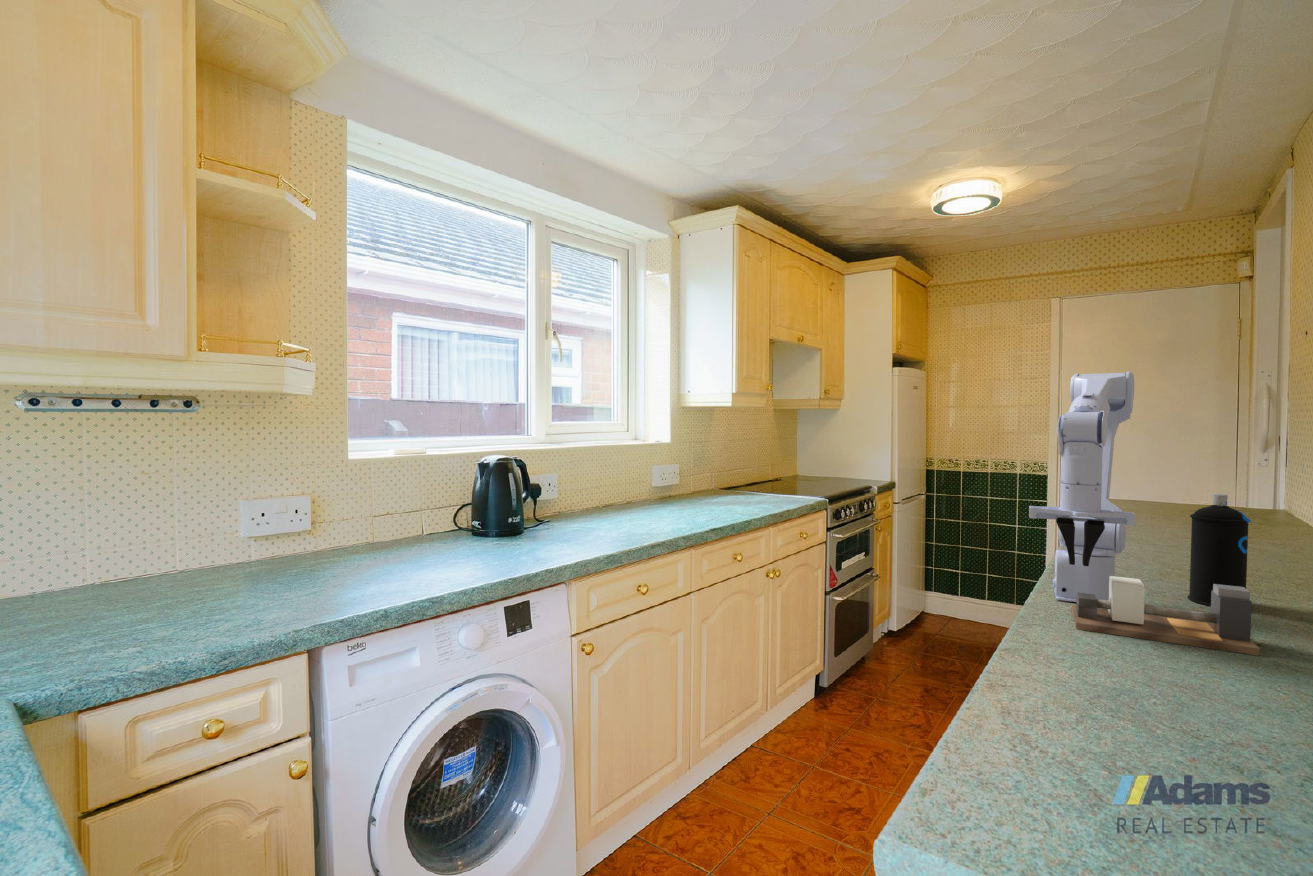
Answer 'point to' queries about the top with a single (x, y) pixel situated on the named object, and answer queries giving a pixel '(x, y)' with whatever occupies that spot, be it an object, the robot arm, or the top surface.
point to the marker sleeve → (1126, 599)
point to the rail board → (1157, 625)
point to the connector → (1231, 612)
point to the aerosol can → (1217, 549)
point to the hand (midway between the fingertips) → (1078, 564)
